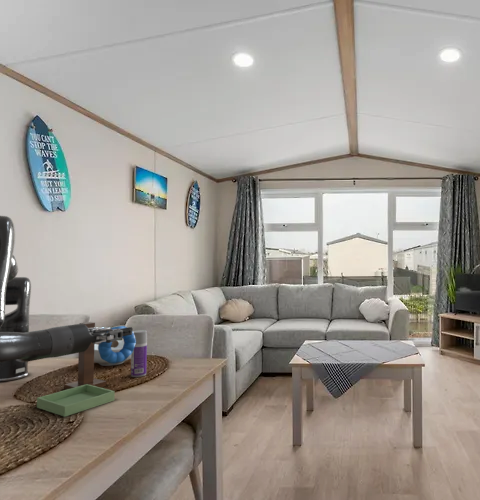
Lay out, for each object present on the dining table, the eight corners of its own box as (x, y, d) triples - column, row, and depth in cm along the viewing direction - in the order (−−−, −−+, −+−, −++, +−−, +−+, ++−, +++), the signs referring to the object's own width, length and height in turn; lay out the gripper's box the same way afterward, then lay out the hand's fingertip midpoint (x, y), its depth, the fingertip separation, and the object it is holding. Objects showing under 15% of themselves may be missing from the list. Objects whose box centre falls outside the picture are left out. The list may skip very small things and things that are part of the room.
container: (149, 373, 137) (150, 330, 137) (140, 377, 132) (141, 332, 132) (136, 372, 137) (137, 329, 138) (127, 376, 133) (128, 332, 133)
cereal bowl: (107, 371, 138) (108, 351, 138) (74, 366, 144) (75, 347, 144) (147, 359, 154) (148, 341, 154) (116, 355, 160) (117, 338, 160)
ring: (95, 366, 110) (96, 328, 110) (131, 357, 119) (132, 323, 120) (101, 367, 108) (102, 330, 109) (137, 359, 118) (138, 324, 118)
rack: (64, 389, 120) (65, 323, 120) (91, 382, 127) (92, 320, 127) (100, 399, 112) (102, 329, 112) (127, 391, 119) (128, 325, 119)
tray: (36, 407, 105) (36, 397, 105) (86, 392, 117) (87, 384, 117) (64, 416, 100) (64, 406, 100) (114, 400, 111) (114, 391, 111)
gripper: (80, 328, 98) (143, 319, 114) (49, 323, 104) (113, 315, 120) (80, 358, 98) (143, 345, 114) (48, 352, 104) (112, 340, 120)
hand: (127, 330), depth 117 cm, fingers closed on ring, 3 cm apart
